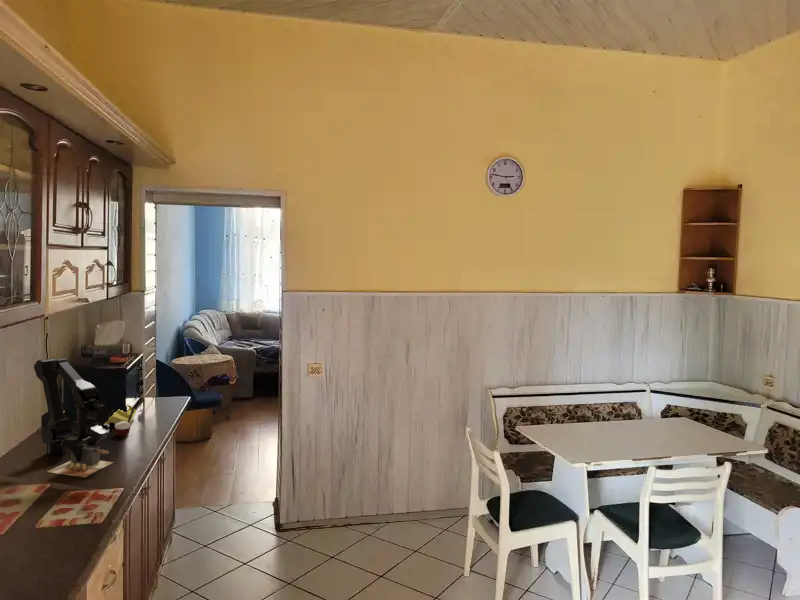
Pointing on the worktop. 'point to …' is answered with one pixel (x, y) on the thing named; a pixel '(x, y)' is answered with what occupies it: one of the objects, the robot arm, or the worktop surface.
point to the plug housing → (89, 455)
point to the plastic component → (121, 416)
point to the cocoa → (123, 426)
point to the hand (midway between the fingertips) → (85, 458)
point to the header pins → (78, 467)
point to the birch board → (90, 469)
